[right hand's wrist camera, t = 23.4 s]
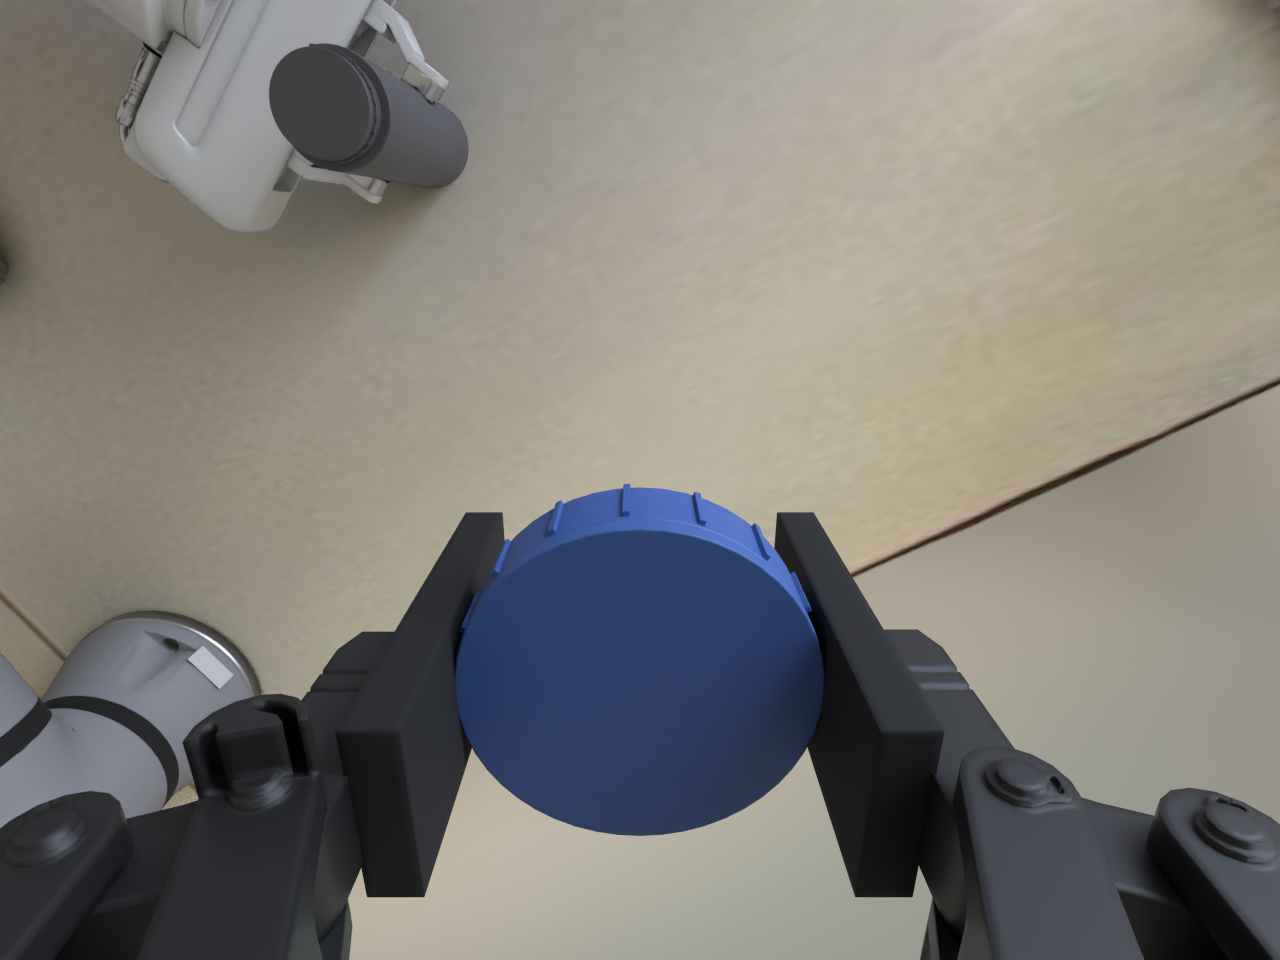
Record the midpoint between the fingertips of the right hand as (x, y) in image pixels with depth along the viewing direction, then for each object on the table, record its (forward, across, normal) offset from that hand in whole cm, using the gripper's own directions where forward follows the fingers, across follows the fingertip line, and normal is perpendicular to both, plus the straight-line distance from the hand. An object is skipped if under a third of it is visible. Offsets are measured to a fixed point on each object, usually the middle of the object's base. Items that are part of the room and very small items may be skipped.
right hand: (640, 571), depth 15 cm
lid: (-4, 0, 0) cm, 4 cm away
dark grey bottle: (+36, +14, -12) cm, 40 cm away
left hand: (+30, +13, -11) cm, 34 cm away
